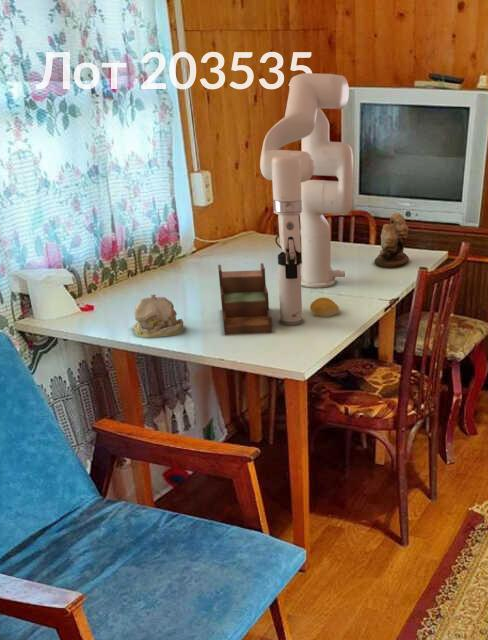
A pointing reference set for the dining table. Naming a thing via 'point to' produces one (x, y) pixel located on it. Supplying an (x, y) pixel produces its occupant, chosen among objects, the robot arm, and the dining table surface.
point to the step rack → (244, 301)
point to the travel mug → (289, 292)
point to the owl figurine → (393, 243)
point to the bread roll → (324, 307)
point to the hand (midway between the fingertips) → (290, 274)
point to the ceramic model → (156, 318)
